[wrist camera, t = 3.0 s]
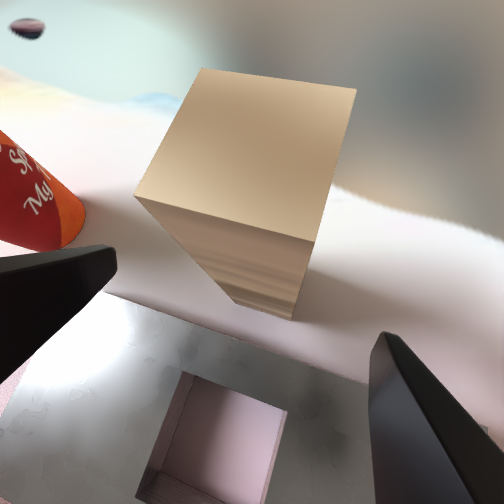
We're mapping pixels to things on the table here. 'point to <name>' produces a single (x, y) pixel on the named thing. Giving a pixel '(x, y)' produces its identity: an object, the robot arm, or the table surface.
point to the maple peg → (249, 180)
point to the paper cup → (34, 203)
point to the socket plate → (170, 414)
